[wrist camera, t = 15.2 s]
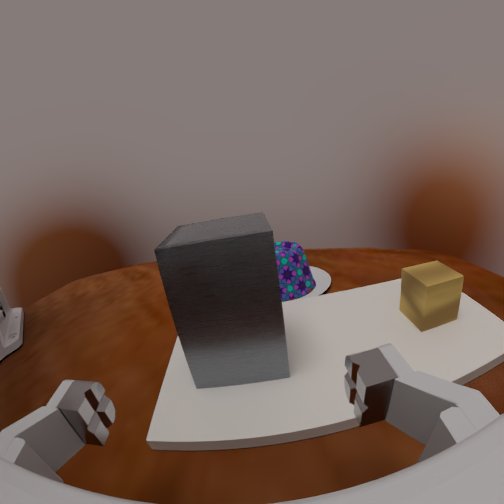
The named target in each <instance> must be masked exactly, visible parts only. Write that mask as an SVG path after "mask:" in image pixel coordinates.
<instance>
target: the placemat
mask: <svg viewBox="0 0 504 504" xmlns="http://www.w3.org/2000/svg"><path fill="white" fill-rule="evenodd" d="M400 295H401V279H397V280H392V281H388V282H384V283H379V284H374V285H370V286H365V287H360V288H355V289H350V290H346V291H340V292H335V293H330V294H325V295H320V296H314V297H309V298H303V299H297V300H292V301H286V302H282V309H283V317H284V326H285V335H286V344H287V353H288V362H289V371H290V378H284V379H278V380H272V381H265V382H258V383H251V384H243V385H234V386H225V387H214V388H202V389H197V388H196V386H195V383H194V380H193V378H192V375H191V372H190V369H189V366H188V363H187V361H186V358H185V355H184V352H183V349H182V346H181V343H180V340H179V336H178V337H177V340H176V343H175V346H174V349H173V352H172V355H171V359H170V362H169V365H168V368H167V371H166V374H165V378H164V381H163V384H162V387H161V391H160V394H159V397H158V401H157V404H156V407H155V411H154V414H153V418H152V421H151V425H150V428H149V432H148V435H147V439H146V441H147V443H148V444H149V446H150V447H151V449H152V450H179V451H196V450H223V449H237V448H248V447H258V446H266V445H273V444H280V443H286V442H292V441H298V440H303V439H308V438H313V437H318V436H323V435H327V434H331V433H335V432H339V431H343V430H347V429H351V428H354V427H358V426H359V424H358V421H357V419H356V417H355V414H354V405H353V404H351V403H349V401H348V398H347V395H346V392H345V385H344V376H345V374H346V373H347V372H348V371H347V369H346V367H345V358H346V356H347V355H351V354H355V353H358V352H362V351H366V350H369V349H373V348H376V347H379V346H382V345H385V344H388V343H391V344H393V346H394V347H395V348H396V349H397V351H398V352H399V353H400V354H401V356H402V357H403V358H404V359H405V361H406V362H407V363H408V364H409V366H410V367H411V368H412V370H413V371H414V372H416V371H421V372H424V373H427V374H429V375H432V376H435V377H438V378H441V379H444V380H447V381H450V382H453V383H456V384H459V385H464V384H466V383H467V382H469V381H471V380H473V379H475V378H477V377H478V376H480V375H482V374H484V373H485V372H487V371H489V370H491V369H492V368H494V367H496V366H497V365H499V364H500V363H502V362H504V322H503V321H502V320H501V319H499V318H498V317H497V316H495V315H494V314H493V313H491V312H490V311H488V310H487V309H486V308H484V307H483V306H481V305H480V304H479V303H477V302H476V301H474V300H473V299H471V298H470V297H469V296H467V295H466V294H464V293H463V292H462V293H461V299H460V305H459V310H458V316H457V320H454V321H451V322H449V323H446V324H443V325H441V326H438V327H435V328H432V329H429V330H426V331H423V332H421V331H420V330H419V329H418V328H417V327H416V326H415V325H414V324H413V323H412V322H411V321H410V320H409V319H408V318H407V317H406V316H405V315H404V314H403V313H402V312H401V311H400V310H399V307H400Z"/></svg>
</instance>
